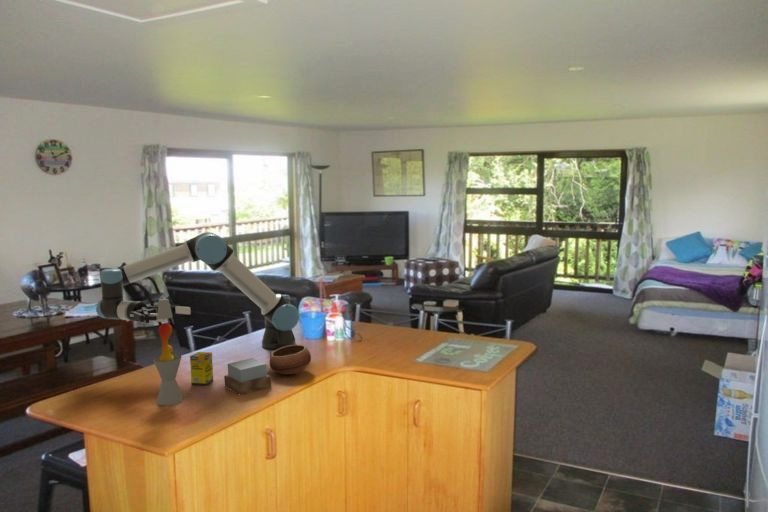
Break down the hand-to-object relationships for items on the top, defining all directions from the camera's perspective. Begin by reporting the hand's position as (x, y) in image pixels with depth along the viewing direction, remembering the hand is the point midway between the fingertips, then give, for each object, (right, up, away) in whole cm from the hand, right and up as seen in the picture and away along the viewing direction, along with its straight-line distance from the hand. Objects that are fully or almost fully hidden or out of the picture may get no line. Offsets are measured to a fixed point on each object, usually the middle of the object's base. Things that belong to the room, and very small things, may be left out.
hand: (177, 314), depth 218 cm
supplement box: (+9, -26, -1) cm, 27 cm away
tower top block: (+27, -22, -6) cm, 35 cm away
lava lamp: (+4, -28, -18) cm, 33 cm away
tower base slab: (+27, -26, -6) cm, 38 cm away
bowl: (+41, -24, +9) cm, 48 cm away
